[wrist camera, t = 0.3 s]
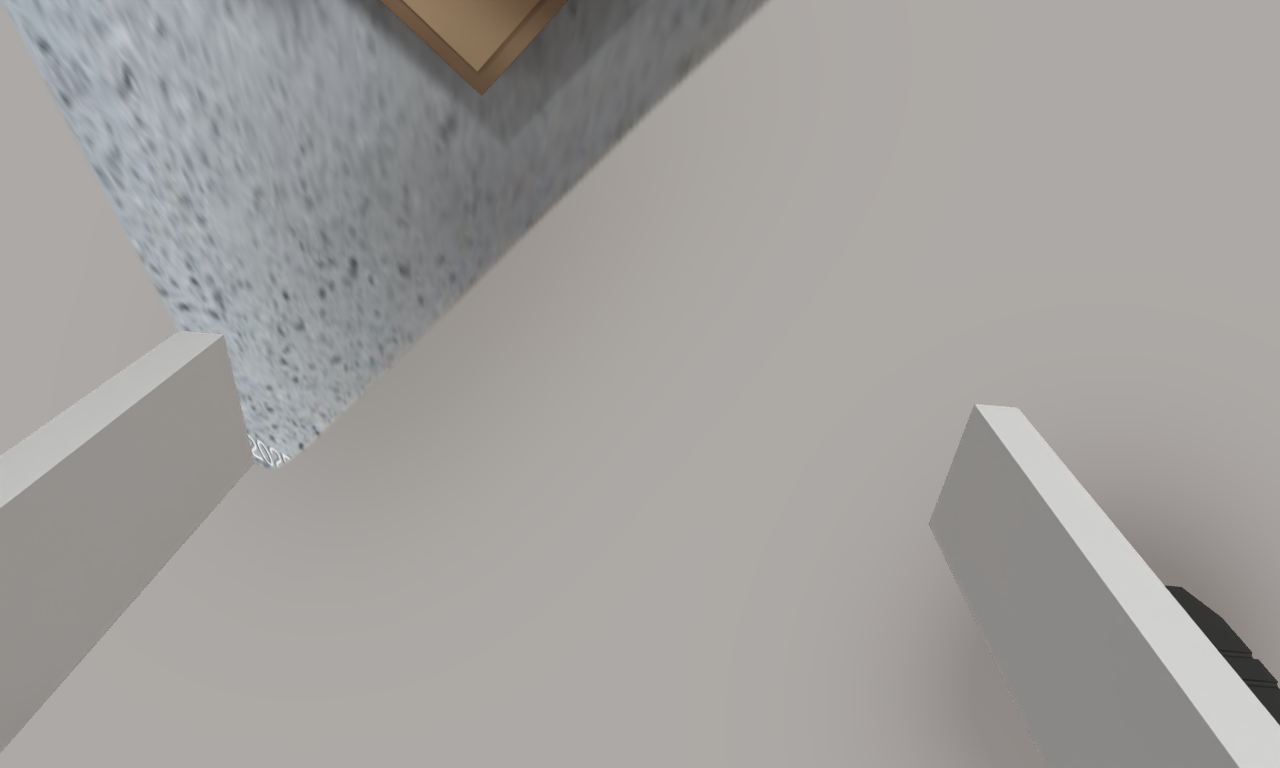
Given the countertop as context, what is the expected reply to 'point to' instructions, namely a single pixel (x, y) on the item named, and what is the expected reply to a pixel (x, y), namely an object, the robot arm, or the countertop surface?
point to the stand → (476, 31)
